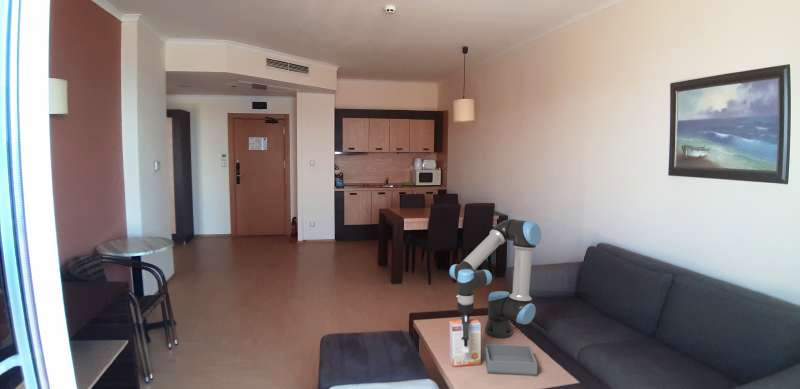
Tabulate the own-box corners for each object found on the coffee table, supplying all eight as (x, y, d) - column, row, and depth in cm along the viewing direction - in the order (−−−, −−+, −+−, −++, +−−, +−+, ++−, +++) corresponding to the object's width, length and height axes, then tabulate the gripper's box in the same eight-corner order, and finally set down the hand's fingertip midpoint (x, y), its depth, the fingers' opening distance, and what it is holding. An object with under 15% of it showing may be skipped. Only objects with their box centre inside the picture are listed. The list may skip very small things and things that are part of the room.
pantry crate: (484, 355, 220) (484, 344, 219) (529, 357, 218) (530, 345, 217) (487, 373, 202) (487, 361, 202) (536, 376, 200) (537, 363, 199)
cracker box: (476, 359, 216) (477, 318, 214) (480, 365, 210) (481, 322, 208) (449, 361, 214) (449, 319, 212) (452, 367, 208) (452, 324, 206)
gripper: (457, 293, 222) (456, 334, 224) (457, 311, 197) (457, 357, 200) (472, 294, 221) (471, 335, 223) (474, 312, 197) (474, 358, 199)
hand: (464, 345), depth 211 cm, fingers open, 13 cm apart
